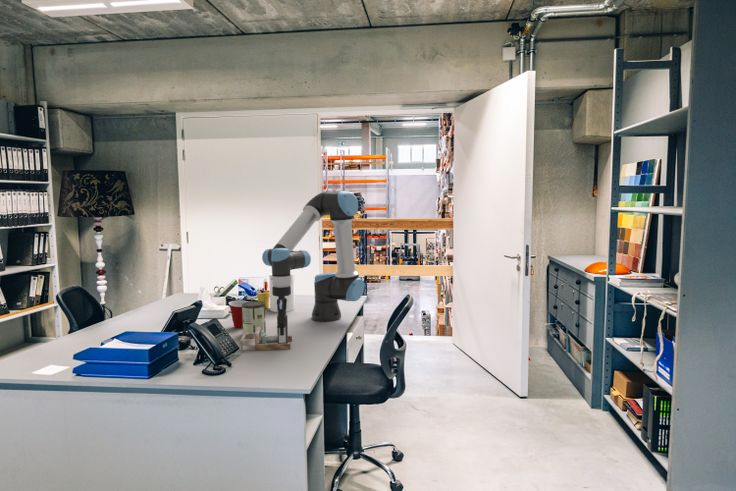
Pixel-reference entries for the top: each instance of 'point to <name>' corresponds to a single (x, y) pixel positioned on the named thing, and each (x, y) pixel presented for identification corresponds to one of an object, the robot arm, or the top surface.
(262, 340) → the striker
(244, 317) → the coffee can
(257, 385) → the top surface
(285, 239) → the robot arm
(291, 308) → the canister
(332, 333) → the top surface
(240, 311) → the plastic cup
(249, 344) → the lane
